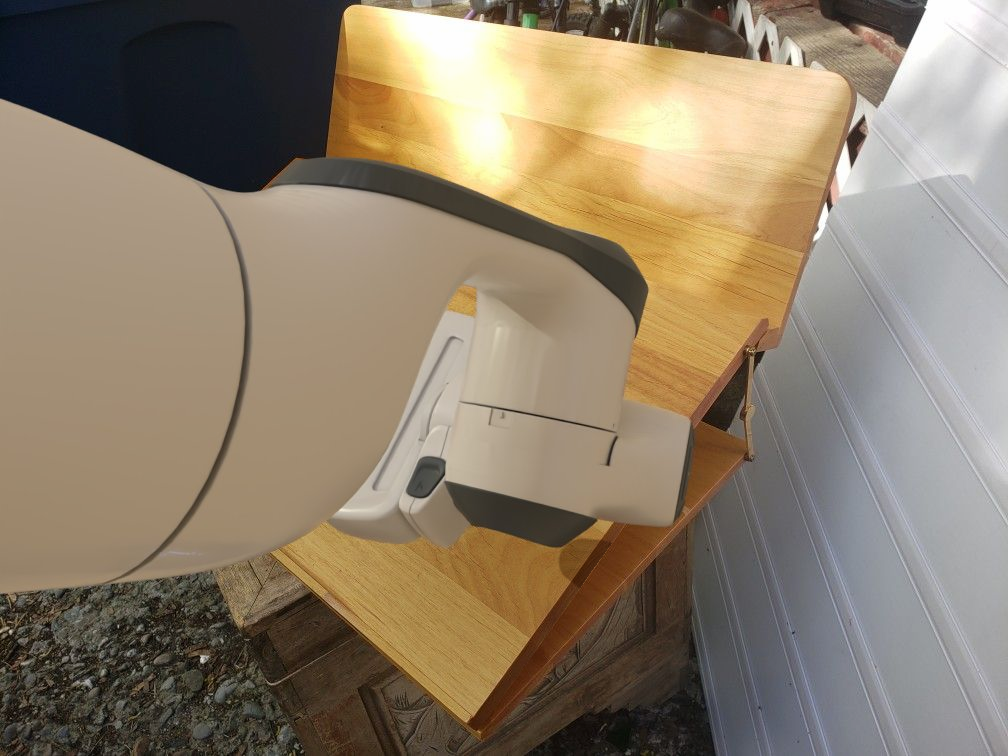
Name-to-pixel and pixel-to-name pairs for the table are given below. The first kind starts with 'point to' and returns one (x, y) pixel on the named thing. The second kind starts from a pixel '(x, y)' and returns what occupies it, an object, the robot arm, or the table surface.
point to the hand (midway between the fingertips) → (337, 402)
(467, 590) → the table surface
